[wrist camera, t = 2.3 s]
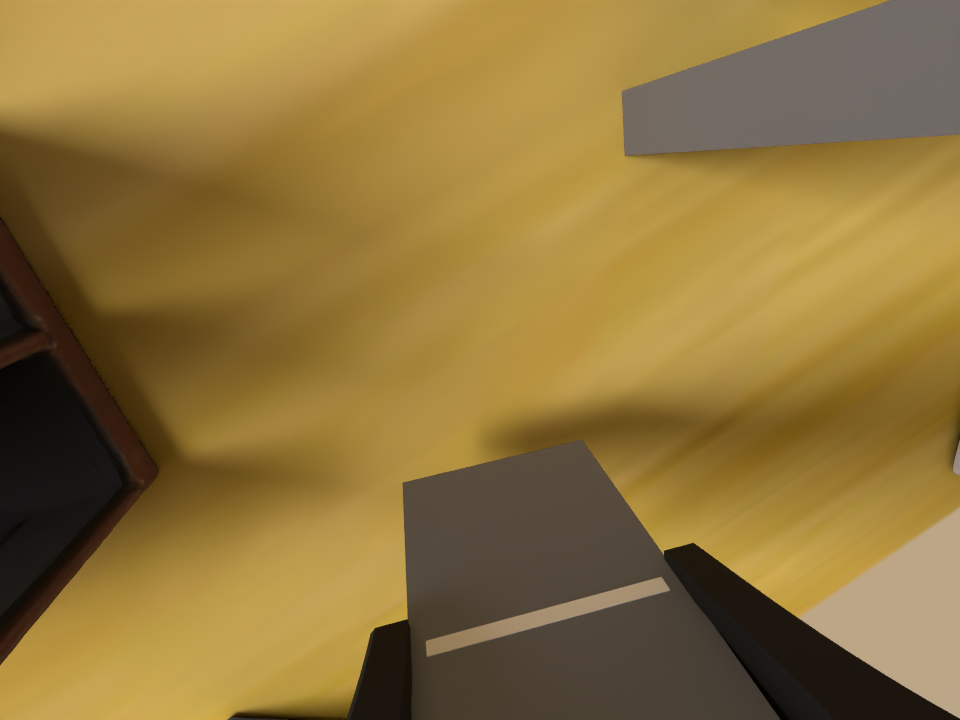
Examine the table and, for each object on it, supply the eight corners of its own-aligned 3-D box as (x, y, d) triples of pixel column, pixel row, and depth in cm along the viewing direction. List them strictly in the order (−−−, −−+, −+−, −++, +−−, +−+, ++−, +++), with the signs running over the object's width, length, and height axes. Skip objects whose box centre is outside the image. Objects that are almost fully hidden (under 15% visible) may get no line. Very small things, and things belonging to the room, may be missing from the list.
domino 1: (582, 439, 13) (994, 1019, 4) (586, 487, 14) (954, 1083, 5) (402, 482, 13) (430, 1239, 4) (415, 529, 14) (467, 1278, 4)
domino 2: (792, 61, 14) (1652, -171, 4) (787, 126, 14) (1529, 44, 5) (622, 90, 13) (1185, -104, 4) (624, 156, 14) (1114, 127, 4)
